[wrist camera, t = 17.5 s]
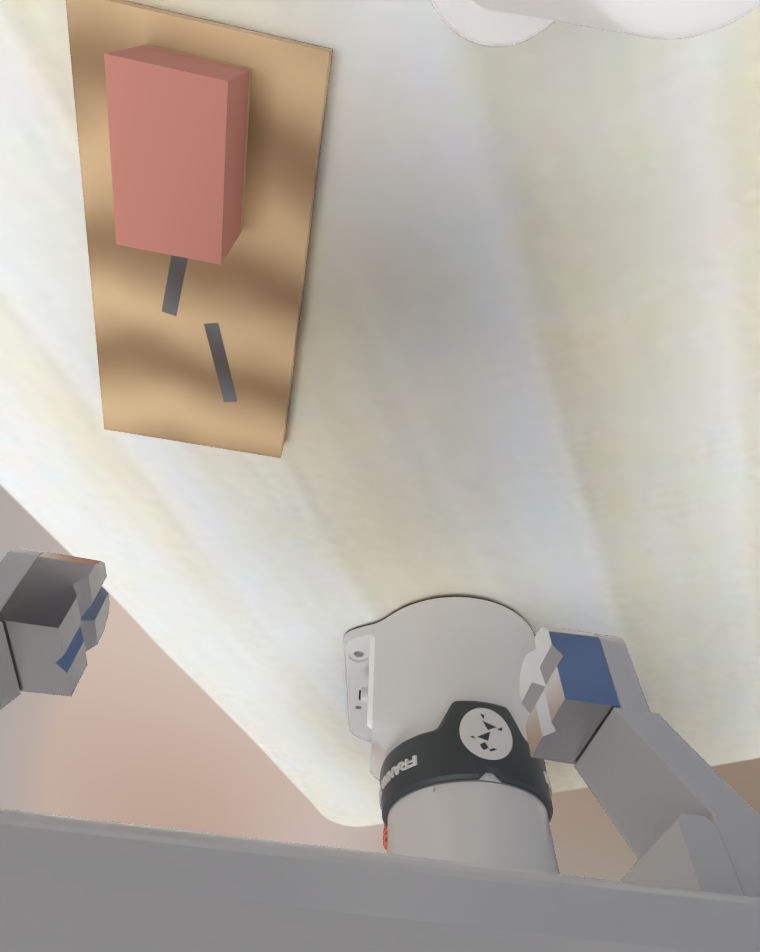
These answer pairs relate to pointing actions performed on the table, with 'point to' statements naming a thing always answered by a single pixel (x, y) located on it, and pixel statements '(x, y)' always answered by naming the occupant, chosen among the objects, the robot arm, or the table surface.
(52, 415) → the table surface
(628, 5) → the candle
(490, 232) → the table surface
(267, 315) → the plank
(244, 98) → the block
